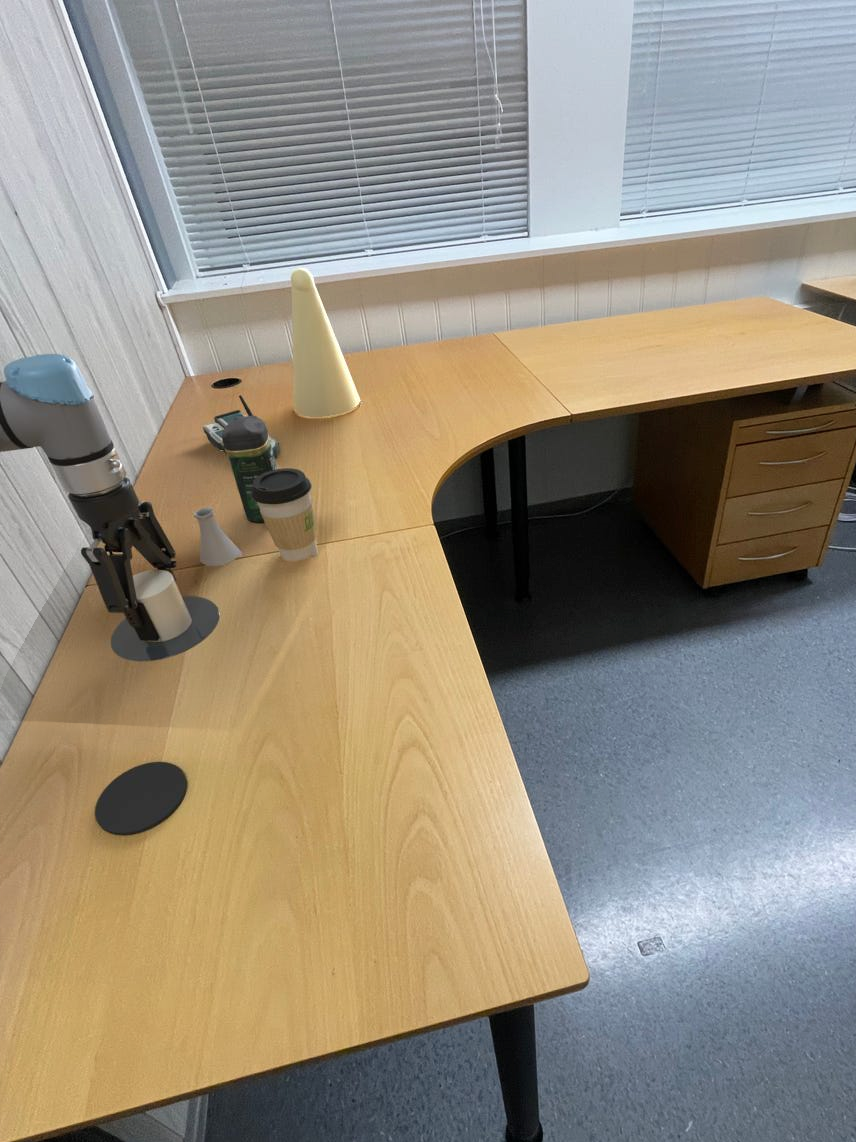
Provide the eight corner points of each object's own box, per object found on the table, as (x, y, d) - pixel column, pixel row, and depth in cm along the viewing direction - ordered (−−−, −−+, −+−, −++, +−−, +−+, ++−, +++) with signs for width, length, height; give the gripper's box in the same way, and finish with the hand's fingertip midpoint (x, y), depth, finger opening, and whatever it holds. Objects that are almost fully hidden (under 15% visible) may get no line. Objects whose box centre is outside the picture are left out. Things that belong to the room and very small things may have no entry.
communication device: (243, 473, 141) (231, 435, 135) (205, 442, 155) (192, 406, 149) (291, 456, 146) (282, 419, 140) (250, 428, 161) (240, 393, 155)
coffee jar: (285, 522, 122) (259, 429, 110) (244, 526, 121) (213, 433, 109) (290, 499, 129) (266, 410, 117) (252, 503, 129) (223, 414, 117)
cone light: (293, 399, 176) (259, 256, 153) (357, 391, 179) (333, 249, 156) (294, 431, 158) (256, 274, 135) (366, 422, 160) (340, 266, 138)
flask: (227, 575, 109) (208, 524, 102) (192, 569, 110) (172, 519, 104) (250, 553, 114) (234, 504, 107) (217, 548, 116) (199, 499, 109)
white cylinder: (130, 641, 94) (107, 598, 89) (155, 610, 99) (135, 569, 94) (177, 643, 93) (157, 600, 88) (200, 611, 99) (182, 569, 93)
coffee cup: (338, 549, 113) (321, 473, 103) (301, 577, 107) (279, 498, 97) (299, 537, 117) (278, 462, 108) (260, 563, 111) (235, 486, 101)
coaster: (78, 832, 70) (76, 830, 69) (125, 762, 77) (124, 759, 77) (161, 838, 69) (160, 835, 68) (201, 766, 76) (200, 763, 76)
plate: (92, 665, 92) (88, 659, 91) (147, 600, 104) (144, 594, 103) (194, 669, 90) (191, 662, 89) (238, 602, 102) (235, 596, 101)
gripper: (78, 524, 73) (153, 667, 87) (163, 451, 88) (215, 583, 103) (19, 524, 73) (104, 665, 88) (113, 451, 89) (172, 582, 104)
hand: (163, 621), depth 96 cm, fingers closed on white cylinder, 8 cm apart
